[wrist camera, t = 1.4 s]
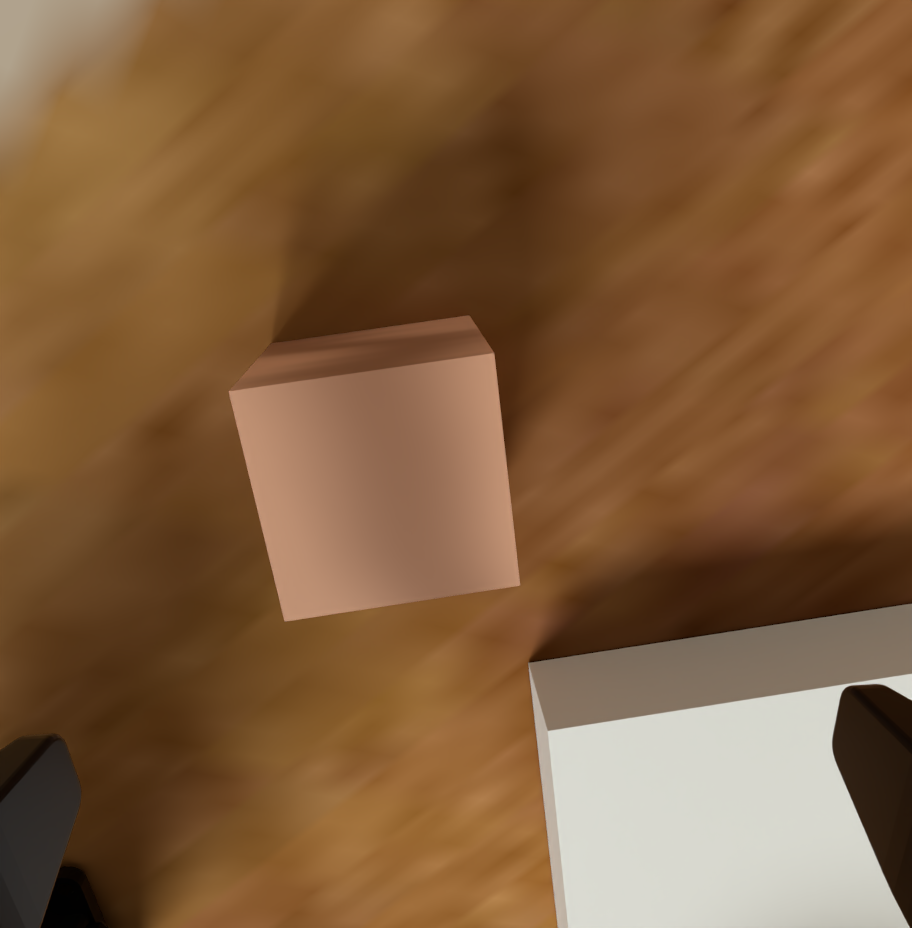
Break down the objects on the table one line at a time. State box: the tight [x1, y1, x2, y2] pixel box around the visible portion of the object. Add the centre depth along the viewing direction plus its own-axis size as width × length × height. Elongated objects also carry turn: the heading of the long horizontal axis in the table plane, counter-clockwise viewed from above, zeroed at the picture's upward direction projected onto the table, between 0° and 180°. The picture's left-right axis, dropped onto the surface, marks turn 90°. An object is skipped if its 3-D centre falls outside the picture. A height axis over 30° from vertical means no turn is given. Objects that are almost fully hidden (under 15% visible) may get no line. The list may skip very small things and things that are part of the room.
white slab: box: [528, 604, 912, 928], centre depth 23 cm, size 12×12×3 cm
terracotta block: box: [229, 315, 520, 622], centre depth 17 cm, size 5×5×5 cm
